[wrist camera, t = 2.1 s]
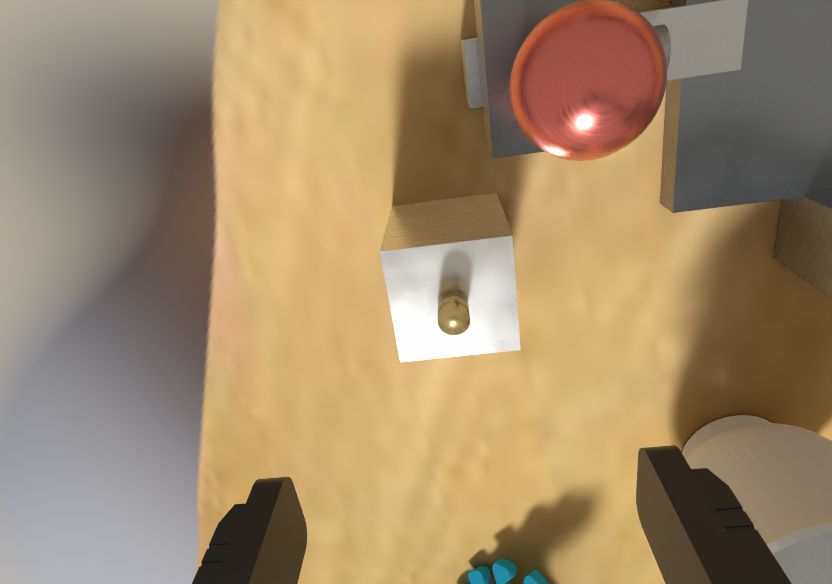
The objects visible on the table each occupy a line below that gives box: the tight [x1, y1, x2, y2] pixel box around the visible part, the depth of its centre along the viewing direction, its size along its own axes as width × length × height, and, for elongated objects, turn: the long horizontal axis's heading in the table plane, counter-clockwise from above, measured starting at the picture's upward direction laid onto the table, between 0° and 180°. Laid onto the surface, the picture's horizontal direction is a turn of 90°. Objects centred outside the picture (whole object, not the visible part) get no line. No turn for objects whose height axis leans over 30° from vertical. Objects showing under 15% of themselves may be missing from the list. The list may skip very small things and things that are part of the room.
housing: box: [380, 193, 520, 362], centre depth 23 cm, size 5×5×8 cm
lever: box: [474, 0, 671, 161], centre depth 15 cm, size 6×5×9 cm
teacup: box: [682, 415, 832, 584], centre depth 26 cm, size 12×15×10 cm
